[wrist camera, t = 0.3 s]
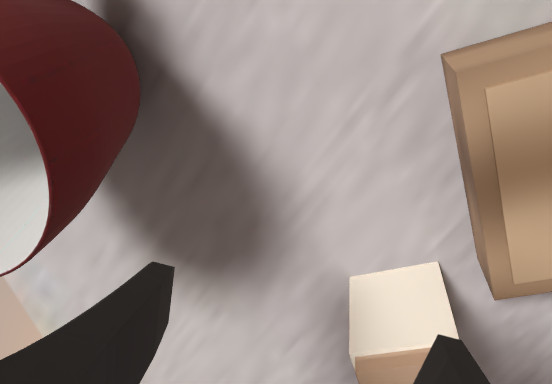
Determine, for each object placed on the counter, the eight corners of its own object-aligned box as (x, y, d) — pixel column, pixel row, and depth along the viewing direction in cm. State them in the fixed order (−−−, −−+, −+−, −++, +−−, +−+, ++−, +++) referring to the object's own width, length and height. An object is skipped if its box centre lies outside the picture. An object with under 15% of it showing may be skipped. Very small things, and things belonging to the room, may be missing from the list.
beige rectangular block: (452, 327, 24) (480, 432, 19) (369, 339, 26) (374, 440, 20) (437, 261, 23) (463, 355, 17) (349, 276, 24) (349, 369, 19)
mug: (-51, -85, 18) (-414, -114, 10) (136, -125, 17) (-96, -204, 8) (46, 158, 23) (-140, 287, 14) (200, 144, 22) (96, 279, 13)
